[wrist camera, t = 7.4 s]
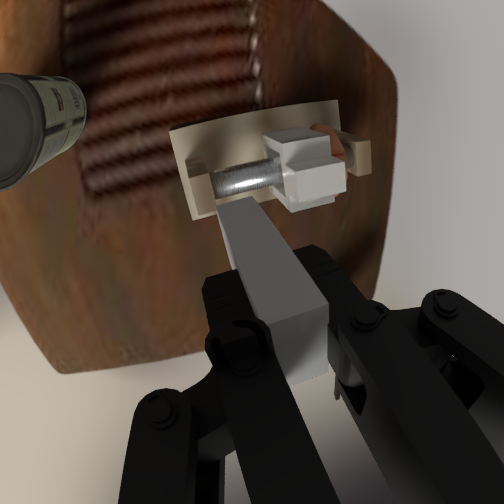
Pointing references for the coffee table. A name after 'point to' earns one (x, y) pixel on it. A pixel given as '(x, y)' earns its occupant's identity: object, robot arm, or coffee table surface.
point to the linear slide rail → (249, 148)
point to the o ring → (332, 143)
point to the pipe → (255, 175)
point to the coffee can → (36, 122)
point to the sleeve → (304, 167)
